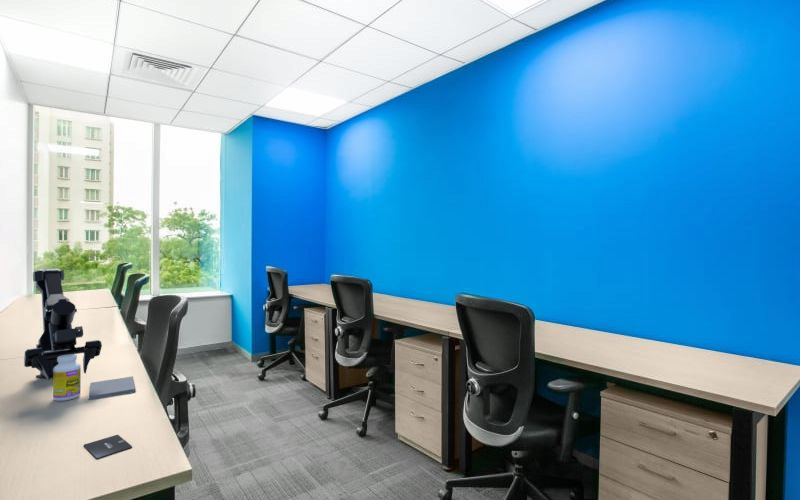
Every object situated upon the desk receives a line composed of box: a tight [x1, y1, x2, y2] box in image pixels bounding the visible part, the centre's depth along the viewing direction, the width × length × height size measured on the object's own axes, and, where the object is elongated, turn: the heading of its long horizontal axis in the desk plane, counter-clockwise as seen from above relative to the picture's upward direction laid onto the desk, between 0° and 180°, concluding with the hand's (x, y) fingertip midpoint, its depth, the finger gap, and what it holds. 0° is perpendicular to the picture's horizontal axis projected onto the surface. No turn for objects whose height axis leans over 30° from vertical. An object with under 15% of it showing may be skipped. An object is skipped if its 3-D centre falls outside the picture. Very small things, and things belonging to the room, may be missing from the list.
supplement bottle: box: [52, 354, 82, 402], centre depth 129 cm, size 7×7×13 cm
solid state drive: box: [83, 434, 133, 460], centre depth 97 cm, size 7×10×1 cm
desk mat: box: [88, 375, 137, 401], centre depth 137 cm, size 16×12×1 cm
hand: (67, 375), depth 128 cm, fingers open, 8 cm apart
